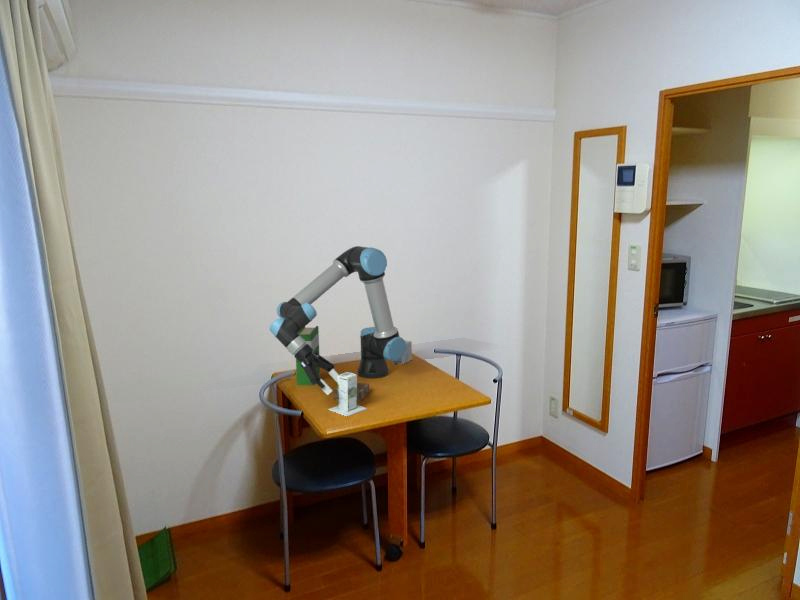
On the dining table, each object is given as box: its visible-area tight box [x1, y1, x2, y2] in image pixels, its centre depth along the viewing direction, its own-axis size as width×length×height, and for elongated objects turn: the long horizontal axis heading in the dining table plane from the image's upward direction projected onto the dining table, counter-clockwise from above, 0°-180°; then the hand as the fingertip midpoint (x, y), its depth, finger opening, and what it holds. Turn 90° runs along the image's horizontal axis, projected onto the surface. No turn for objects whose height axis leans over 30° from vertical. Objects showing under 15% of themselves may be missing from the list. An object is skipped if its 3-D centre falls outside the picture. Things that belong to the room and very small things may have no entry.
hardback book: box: [295, 325, 321, 386], centre depth 270 cm, size 18×7×24 cm, turn 177°
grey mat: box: [328, 404, 368, 418], centre depth 233 cm, size 11×11×1 cm
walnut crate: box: [333, 382, 370, 403], centre depth 249 cm, size 12×12×4 cm
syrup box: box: [337, 371, 358, 411], centre depth 232 cm, size 6×6×14 cm
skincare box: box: [391, 340, 413, 365], centre depth 298 cm, size 10×6×10 cm, turn 147°
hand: (336, 387), depth 233 cm, fingers open, 13 cm apart
